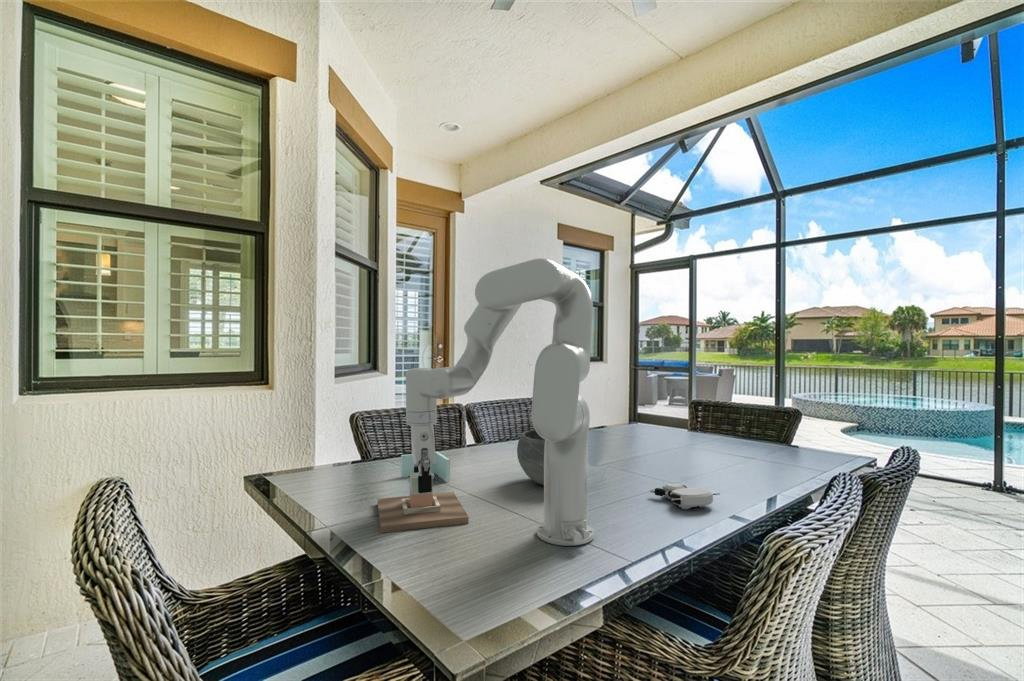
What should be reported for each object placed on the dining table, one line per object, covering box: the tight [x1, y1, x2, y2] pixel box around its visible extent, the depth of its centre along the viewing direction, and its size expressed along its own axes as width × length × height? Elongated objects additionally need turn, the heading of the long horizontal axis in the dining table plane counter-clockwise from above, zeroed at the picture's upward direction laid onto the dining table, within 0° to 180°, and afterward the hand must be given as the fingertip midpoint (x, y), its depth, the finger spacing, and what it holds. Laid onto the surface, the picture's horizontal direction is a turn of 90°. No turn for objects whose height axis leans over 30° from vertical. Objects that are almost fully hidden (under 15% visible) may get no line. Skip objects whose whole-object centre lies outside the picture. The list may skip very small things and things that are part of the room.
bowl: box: [516, 429, 545, 486], centre depth 146 cm, size 21×21×15 cm
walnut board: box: [377, 491, 469, 534], centre depth 120 cm, size 20×20×3 cm
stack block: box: [409, 473, 433, 508], centre depth 120 cm, size 5×5×8 cm
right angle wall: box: [400, 451, 451, 483], centre depth 150 cm, size 12×12×8 cm
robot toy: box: [649, 483, 721, 510], centre depth 128 cm, size 12×4×15 cm
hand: (422, 486), depth 120 cm, fingers open, 9 cm apart
